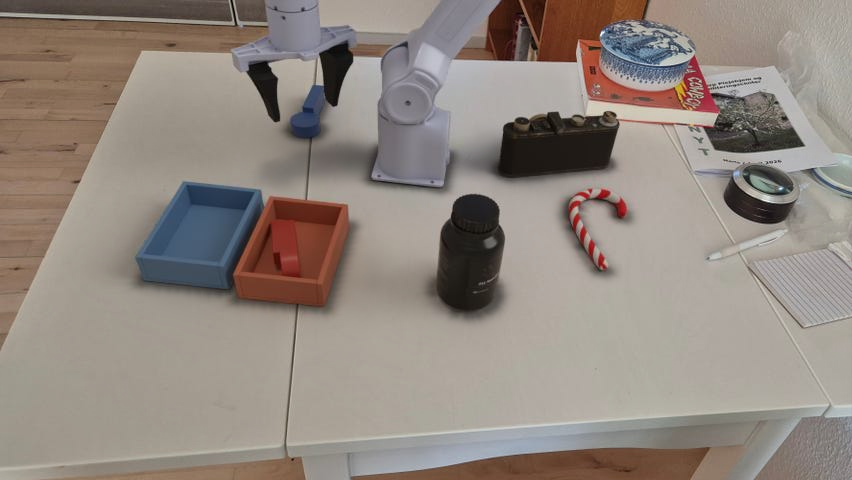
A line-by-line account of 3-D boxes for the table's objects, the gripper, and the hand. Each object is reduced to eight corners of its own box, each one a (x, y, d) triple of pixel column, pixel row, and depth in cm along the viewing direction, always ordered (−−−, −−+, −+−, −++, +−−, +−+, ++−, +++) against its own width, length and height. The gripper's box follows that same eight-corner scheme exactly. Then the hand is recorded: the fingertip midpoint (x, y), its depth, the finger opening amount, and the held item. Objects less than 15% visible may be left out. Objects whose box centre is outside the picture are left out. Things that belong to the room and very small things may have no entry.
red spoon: (296, 239, 79) (274, 241, 79) (292, 210, 77) (269, 212, 76) (302, 291, 71) (277, 294, 71) (298, 260, 69) (272, 263, 68)
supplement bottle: (490, 319, 72) (503, 236, 64) (429, 306, 73) (433, 222, 64) (501, 276, 77) (514, 194, 69) (444, 264, 78) (450, 181, 69)
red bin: (349, 226, 81) (348, 204, 78) (324, 307, 71) (321, 284, 69) (273, 218, 81) (269, 195, 78) (238, 297, 71) (232, 274, 69)
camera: (595, 143, 99) (607, 95, 93) (613, 170, 94) (627, 121, 89) (489, 152, 94) (494, 102, 89) (502, 181, 90) (509, 130, 84)
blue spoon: (306, 99, 100) (304, 83, 98) (332, 102, 100) (331, 86, 98) (288, 136, 93) (286, 120, 91) (316, 139, 93) (315, 123, 91)
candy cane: (577, 262, 78) (566, 184, 89) (575, 270, 79) (564, 191, 90) (642, 266, 78) (623, 188, 89) (639, 274, 79) (621, 196, 90)
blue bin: (265, 212, 81) (261, 189, 79) (229, 289, 72) (223, 266, 69) (189, 203, 81) (183, 180, 79) (143, 280, 72) (134, 256, 69)
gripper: (241, 29, 68) (260, 142, 77) (368, 4, 75) (371, 110, 84) (215, 2, 71) (236, 113, 81) (338, -19, 78) (344, 85, 88)
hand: (303, 110), depth 83 cm, fingers open, 7 cm apart
